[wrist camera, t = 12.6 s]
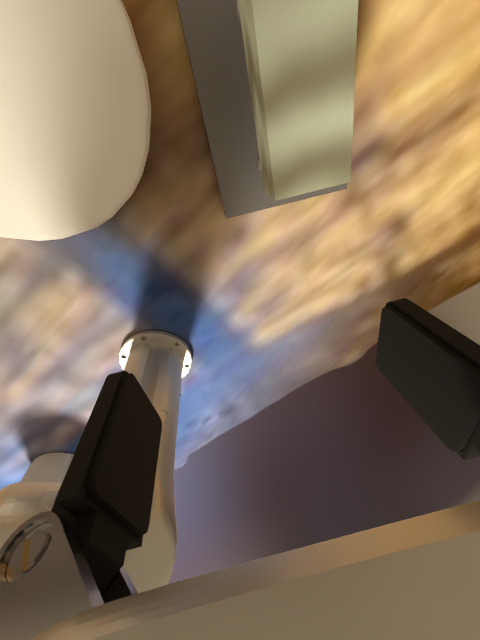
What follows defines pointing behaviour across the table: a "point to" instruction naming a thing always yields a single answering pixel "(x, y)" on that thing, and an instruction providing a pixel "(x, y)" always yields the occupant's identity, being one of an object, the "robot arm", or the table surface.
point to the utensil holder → (49, 468)
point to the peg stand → (228, 104)
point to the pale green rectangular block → (301, 90)
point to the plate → (69, 116)
